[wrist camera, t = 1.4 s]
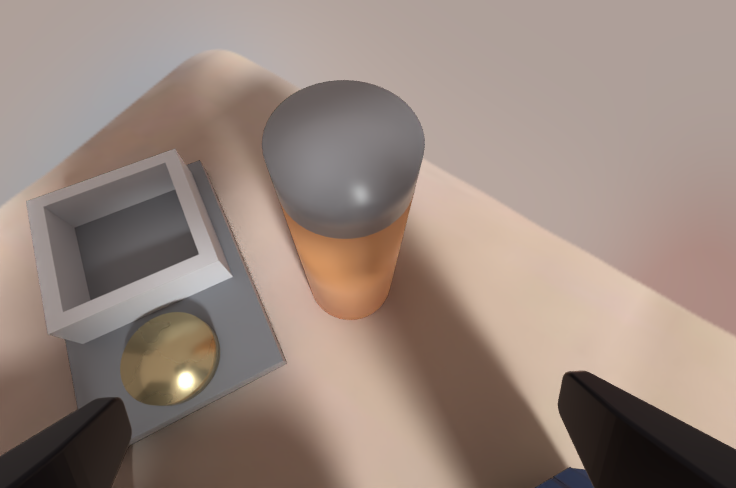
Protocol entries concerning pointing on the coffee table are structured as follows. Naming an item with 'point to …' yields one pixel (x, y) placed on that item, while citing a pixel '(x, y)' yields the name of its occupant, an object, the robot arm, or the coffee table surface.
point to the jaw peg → (345, 187)
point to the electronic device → (568, 480)
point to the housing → (149, 291)
